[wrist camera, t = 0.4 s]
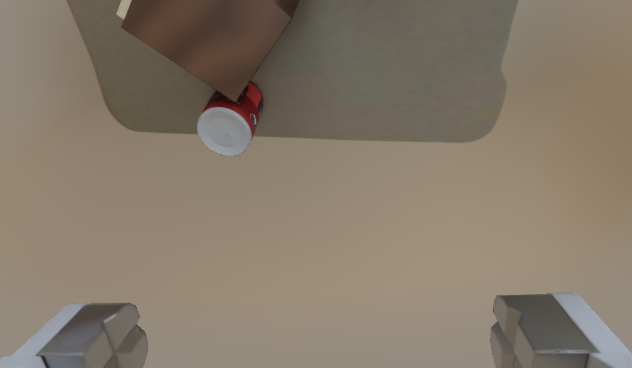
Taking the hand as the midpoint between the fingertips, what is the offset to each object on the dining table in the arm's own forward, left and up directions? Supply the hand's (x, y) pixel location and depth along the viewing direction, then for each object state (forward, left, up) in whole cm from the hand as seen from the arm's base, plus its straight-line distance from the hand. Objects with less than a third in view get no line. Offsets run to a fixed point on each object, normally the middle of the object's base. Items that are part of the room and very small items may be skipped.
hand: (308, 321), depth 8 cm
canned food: (+26, 0, -51) cm, 57 cm away
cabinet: (+14, -9, -51) cm, 53 cm away
